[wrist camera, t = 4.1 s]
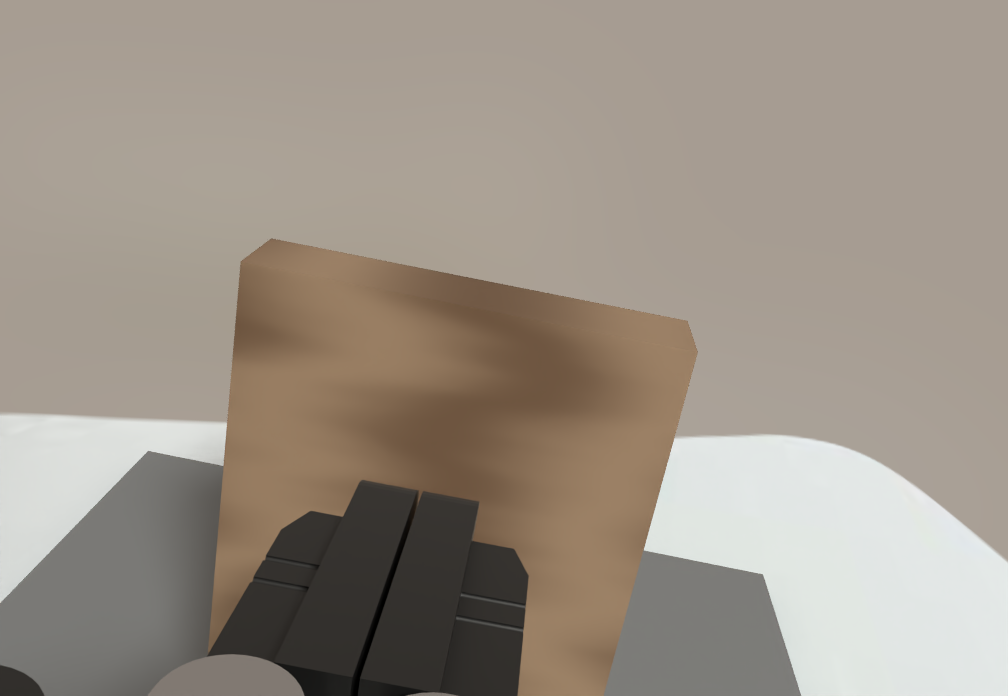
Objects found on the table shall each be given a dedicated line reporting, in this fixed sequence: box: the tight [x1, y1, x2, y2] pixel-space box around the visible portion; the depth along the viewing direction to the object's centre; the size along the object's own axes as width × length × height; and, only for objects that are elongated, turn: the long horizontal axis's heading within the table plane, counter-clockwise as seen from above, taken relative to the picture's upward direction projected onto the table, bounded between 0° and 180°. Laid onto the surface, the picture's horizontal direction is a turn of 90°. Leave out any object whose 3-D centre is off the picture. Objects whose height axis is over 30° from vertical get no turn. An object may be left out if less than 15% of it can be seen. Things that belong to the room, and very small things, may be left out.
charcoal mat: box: [0, 451, 801, 696], centre depth 28 cm, size 24×16×1 cm, turn 85°
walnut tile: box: [208, 239, 698, 696], centre depth 21 cm, size 9×2×13 cm, turn 85°
